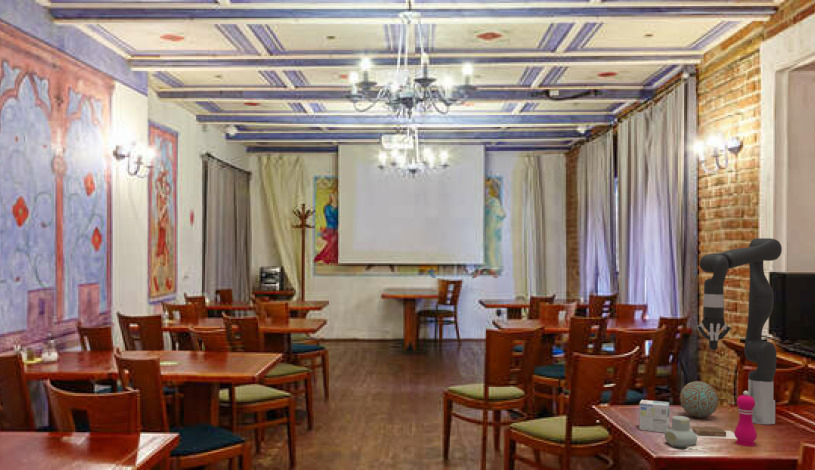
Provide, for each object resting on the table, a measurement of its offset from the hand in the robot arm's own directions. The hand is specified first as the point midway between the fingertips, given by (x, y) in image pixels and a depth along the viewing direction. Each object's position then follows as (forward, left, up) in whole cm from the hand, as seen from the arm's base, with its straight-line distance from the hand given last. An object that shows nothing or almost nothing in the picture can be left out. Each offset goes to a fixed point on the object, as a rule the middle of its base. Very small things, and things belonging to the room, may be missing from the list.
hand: (713, 350), depth 283 cm
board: (+5, +12, -31) cm, 34 cm away
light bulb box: (+23, +4, -31) cm, 39 cm away
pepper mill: (-4, +24, -31) cm, 40 cm away
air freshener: (+19, +26, -31) cm, 45 cm away
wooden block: (0, +12, -29) cm, 31 cm away
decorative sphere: (-1, -21, -31) cm, 38 cm away
